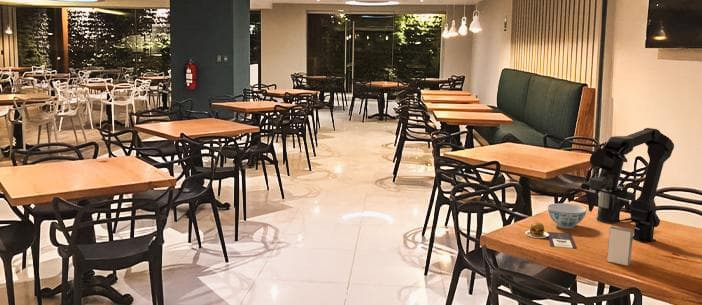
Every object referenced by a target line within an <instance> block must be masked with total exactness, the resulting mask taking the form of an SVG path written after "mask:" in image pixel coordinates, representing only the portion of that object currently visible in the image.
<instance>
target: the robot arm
mask: <svg viewBox="0 0 702 305" xmlns="http://www.w3.org/2000/svg"><path fill="white" fill-rule="evenodd" d="M643 144H644V145H646V147H647V151H646V153H647V156H648V159H649V161H648V165H647V169H646V173H645V176H644V180H643V184H642V187H641V191H640V195H639V197H638V198H637V199H635V198H636V196H635V193H634V192H631V191H627V190H623V189H622V190H619V188H617V186H619V182H620V181H622V180H623V179H622V178H623V177H622V176H621V174H622V170H623V166H624V163H628V159H627V157H626V155H629V154H630V153H631V152H633V150H634V148H635V147H638V146H640V145H643ZM674 149H675V144H674V142H673V140H672V139H671V138H669V137H668V136H667V135H665V134H663V133H662V132H661V131H660V130H659V129H657V128H652V127H645V128H644V129H642V130H638V131H636V132H634V133H630V134H628V135H615V136H610V137H609V138H608V140H607V141H606V143H605V144H604V145H603V146H602V147H598V148H597V150H595V151H594V152H593V153H591V155H590V156H589V162H590V164H591V166H592V167H594V168H597V169H600V170H603V172H601V171H600V172H599V175H598V176H595V177H590V178H589V181H585V180H584V181H582V183H581V184H580V187H579V188H580V189H582V191H583V193H585V195H586V198H587V203H588V204H587V205H588V212H593V210H594V208H595V205H596V202H597V200H598V198H599V192H603V193H608V194H612V195H616V197H618V198H614V206H613V210H612V214H611V217H612V218H614V217H615V216H616V214H617V213H618V212H619V211H620V212H621V210H622V209H623V208H624V207H625V206H626V205H627V204H630V203H631V202H632V203H631V207H630V209H629V210H630V213H629V214H630V218H631V220H630V221H631V223H633V222H634V223H635V226H634V228H633V230H634V231H633V239H634V240H636V241H638V242H640V243H650V242H656V241H657V239H656V238H654V234H655V228H658V227H659V226H660V223H661V220H660V217H659V216H658V215H657V205H656V202H655V197H656V193H657V189H658V186H659V183H660V180H661V175H662V171H663V167H664V164H665V162H666V161H668V159H670V157H671V155H672V154H673V151H674ZM603 189H606V190H604V191H603ZM609 190H612V192H611V191H609ZM607 191H608V192H607Z"/></svg>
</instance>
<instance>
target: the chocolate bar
mask: <svg viewBox="0 0 702 305" xmlns="http://www.w3.org/2000/svg"><path fill="white" fill-rule="evenodd" d="M546 233H548V234H549V236H548V237H547V239H548V242H549V245H550V247H551V248H552V247H553V248H563V249H564V248H565V249H567V248H568V249H576V250H577V248H578V247H577V245H576V243H575V241H574V240H575V239H574V237H573V235H572V233H569V232H568V233H567V232H556V231H554V232H553V231H546Z"/></svg>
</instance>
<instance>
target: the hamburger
mask: <svg viewBox="0 0 702 305" xmlns="http://www.w3.org/2000/svg"><path fill="white" fill-rule="evenodd" d="M524 234H525V235H526V236H528V237H529V238H533V239H546V238H548V236H549V234H548V233H547V231H545V227H544V224H543V223H541V222H537V221H536V222H532V223H531V224H530V227H529V230H527V231H525V233H524Z"/></svg>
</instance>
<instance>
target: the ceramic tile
mask: <svg viewBox="0 0 702 305" xmlns="http://www.w3.org/2000/svg"><path fill="white" fill-rule="evenodd" d="M633 236H634V229H631V228H624V227H619V226H614V225H611V226H610V227H609V231H608V242H607V254H606V262H608V263H612V264H616V265H621V266H626V267H629V266H630V265H631V261H632V251H633Z"/></svg>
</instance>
